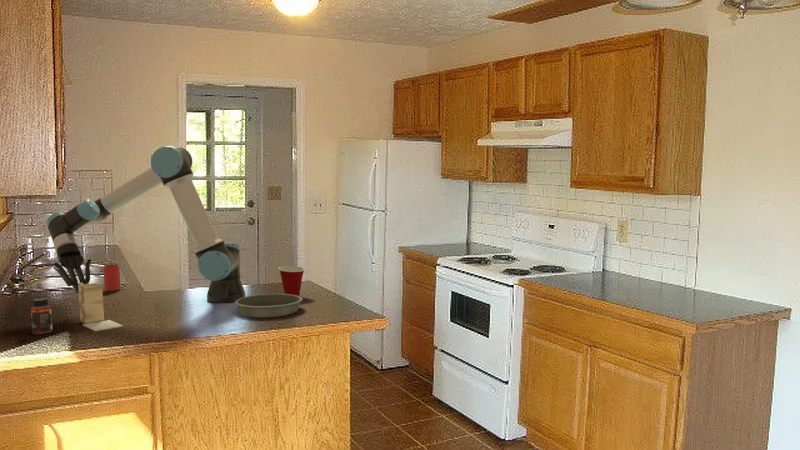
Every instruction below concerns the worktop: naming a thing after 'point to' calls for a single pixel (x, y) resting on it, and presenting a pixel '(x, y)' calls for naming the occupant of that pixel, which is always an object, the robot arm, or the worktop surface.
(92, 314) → the beech block
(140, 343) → the worktop surface
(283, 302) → the cake pan
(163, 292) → the worktop surface
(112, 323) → the mat
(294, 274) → the plastic cup
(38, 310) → the supplement bottle
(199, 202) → the robot arm
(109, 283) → the beer can
